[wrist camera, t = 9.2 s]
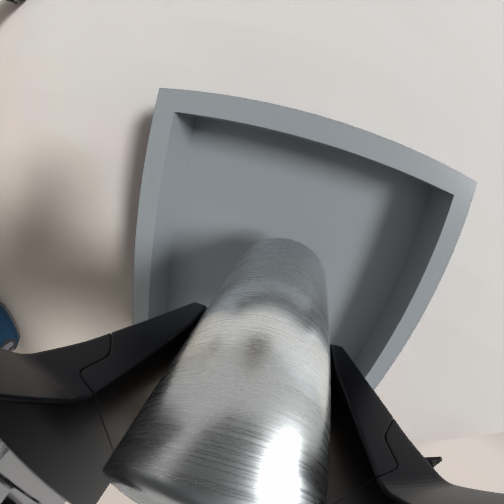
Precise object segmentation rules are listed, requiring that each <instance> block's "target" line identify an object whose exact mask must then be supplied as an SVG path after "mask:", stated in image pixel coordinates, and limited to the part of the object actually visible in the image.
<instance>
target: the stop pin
mask: <svg viewBox="0 0 504 504" xmlns="http://www.w3.org/2000/svg"><path fill="white" fill-rule="evenodd" d="M330 427H331V366H330V336H329V317H328V301H327V287H326V276H325V271H324V268H323V265H322V263H321V261H320V260H319V258H318V257H317V255H316V254H315V253H314V252H313V251H312V250H311V249H310V248H308V247H307V246H305V245H304V244H302V243H300V242H297V241H295V240H292V239H287V238H270V239H266V240H262V241H260V242H258V243H256V244H254V245H253V246H251V247H250V248H249V249H247V251H246V252H245V253H244V254H243V255H242V257H241V258H240V260H239V261H238V263H237V264H236V266H235V267H234V269H233V270H232V272H231V273H230V275H229V276H228V278H227V279H226V281H225V282H224V284H223V285H222V287H221V288H220V290H219V291H218V293H217V294H216V296H215V297H214V299H213V300H212V302H211V303H210V305H209V306H208V308H207V309H206V311H205V312H204V314H203V315H202V317H201V318H200V320H199V321H198V323H197V325H196V326H195V328H194V329H193V331H192V332H191V334H190V335H189V337H188V338H187V340H186V341H185V343H184V344H183V346H182V347H181V349H180V350H179V352H178V353H177V355H176V356H175V358H174V360H173V361H172V363H171V364H170V366H169V367H168V369H167V370H166V372H165V373H164V375H163V376H162V378H161V379H160V381H159V382H158V384H157V385H156V387H155V389H154V390H153V392H152V393H151V395H150V396H149V398H148V399H147V401H146V402H145V404H144V405H143V407H142V409H141V410H140V412H139V413H138V415H137V416H136V418H135V419H134V421H133V422H132V424H131V425H130V427H129V429H128V430H127V432H126V433H125V435H124V436H123V438H122V439H121V441H120V442H119V444H118V446H117V447H116V449H115V450H114V452H113V453H112V455H111V456H110V458H109V460H108V461H107V463H106V464H105V466H104V467H103V473H104V475H105V477H106V478H107V479H108V481H109V482H110V483H111V484H112V485H114V486H115V487H116V488H117V489H118V490H119V491H120V492H122V493H123V494H124V495H126V496H127V497H129V498H130V499H131V500H133V501H135V502H136V503H138V504H326V498H327V486H328V472H329V455H330Z"/></svg>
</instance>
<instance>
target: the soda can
mask: <svg viewBox="0 0 504 504" xmlns="http://www.w3.org/2000/svg"><path fill="white" fill-rule="evenodd" d="M19 338H20V335H19V331H18V328H17V326H16V323H15V321H14V320H13V318H12V316H11V314H10V313H9V311H8V310H7V309H6V308H5V306H4V305H2V304H1V303H0V348H3V349H6V350H8V351H11V352H12V351H13V350H14V349H16V347H17V344H18V341H19Z"/></svg>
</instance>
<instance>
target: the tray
mask: <svg viewBox="0 0 504 504" xmlns="http://www.w3.org/2000/svg"><path fill="white" fill-rule="evenodd" d="M476 184H477V182H476V181H474V180H472V179H471V178H469V177H467V176H465V175H464V174H462V173H460V172H458V171H456V170H454V169H452V168H450V167H448V166H447V165H445V164H443V163H441V162H439V161H437V160H434V159H432V158H430V157H428V156H426V155H424V154H422V153H420V152H417V151H415V150H413V149H411V148H408V147H406V146H404V145H401V144H399V143H396V142H394V141H392V140H389V139H387V138H384V137H381V136H379V135H376V134H373V133H371V132H368V131H365V130H362V129H360V128H357V127H354V126H351V125H348V124H345V123H342V122H339V121H335V120H332V119H329V118H326V117H322V116H319V115H315V114H312V113H308V112H304V111H300V110H296V109H292V108H288V107H284V106H280V105H276V104H271V103H266V102H262V101H257V100H251V99H246V98H240V97H235V96H228V95H222V94H215V93H207V92H199V91H190V90H180V89H168V88H160V89H159V93H158V97H157V101H156V105H155V110H154V114H153V119H152V124H151V129H150V134H149V139H148V144H147V150H146V156H145V162H144V169H143V175H142V182H141V190H140V198H139V207H138V216H137V227H136V239H135V253H134V274H133V325H134V324H137V323H140V322H143V321H145V320H148V319H151V318H153V317H156V316H159V315H161V314H164V313H167V312H169V311H172V310H175V309H177V308H180V307H183V306H185V305H188V304H190V303H193V302H197V303H200V304H203V305H205V306H206V307H207V308H208V306H209V305H210V303H211V302H212V300H213V299H214V297H215V296H216V294H217V293H218V291H219V290H220V288H221V287H222V285H223V284H224V282H225V281H226V279H227V278H228V276H229V275H230V273H231V272H232V270H233V269H234V267H235V266H236V264H237V263H238V261H239V260H240V258H241V257H242V255H243V254H244V253H245V252H246V251H247V249H249V248H250V247H251V246H253V245H254V244H256V243H258V242H260V241H262V240H266V239H270V238H287V239H292V240H295V241H297V242H300V243H302V244H304V245H305V246H307V247H308V248H310V249H311V250H312V251H313V252H314V253H315V254H316V255H317V257H318V258H319V260H320V261H321V263H322V265H323V268H324V271H325V276H326V287H327V301H328V317H329V336H330V344H334V345H338V346H341V347H343V348H344V350H345V351H346V353H347V354H348V355H349V357H350V358H351V359H352V361H353V362H354V364H355V365H356V366H357V368H358V369H359V370H360V372H361V373H362V375H363V376H364V377H365V379H366V380H367V382H368V383H369V384H370V386H371V387H372V389H373V390H374V389H375V388H376V387H377V385H378V384H379V383H380V381H381V380H382V378H383V377H384V376H385V374H386V373H387V371H388V370H389V369H390V367H391V366H392V364H393V363H394V361H395V360H396V358H397V357H398V355H399V354H400V352H401V350H402V349H403V347H404V346H405V344H406V342H407V341H408V339H409V338H410V336H411V334H412V333H413V331H414V329H415V328H416V326H417V324H418V322H419V321H420V319H421V317H422V315H423V313H424V312H425V310H426V308H427V306H428V304H429V302H430V300H431V298H432V296H433V294H434V292H435V290H436V288H437V286H438V284H439V282H440V280H441V278H442V276H443V274H444V272H445V269H446V267H447V265H448V263H449V260H450V258H451V256H452V253H453V251H454V248H455V246H456V243H457V241H458V238H459V236H460V233H461V230H462V228H463V225H464V222H465V219H466V217H467V214H468V211H469V208H470V204H471V201H472V198H473V195H474V191H475V188H476Z"/></svg>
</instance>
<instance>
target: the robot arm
mask: <svg viewBox="0 0 504 504" xmlns="http://www.w3.org/2000/svg"><path fill="white" fill-rule="evenodd" d="M206 309H207V307H206V306H205V305H203V304H200V303H197V302H193V303H190V304H188V305H185V306H183V307H180V308H177V309H175V310H172V311H169V312H167V313H164V314H161V315H159V316H156V317H153V318H151V319H148V320H145V321H143V322H140V323H137V324H134V325H132V326H129V327H126V328H123V329H121V330H118V331H115V332H112V334H110V333H109V334H107V335H104V336H101V337H98V338H95V339H92V340H89V341H85V342H82V343H78V344H74V345H70V346H66V347H61V348H57V349H52V350H48V351H43V352H38V353H33V354H19V353H14V352H11V351H8V350H6V349H3V348H0V504H64V503H65V502H66V501H67V502H68V503H70V504H96V503H97V502H98V500H99V499H100V497H101V496H102V494H103V493H104V491H105V490H106V488H107V486H108V485H109V484H110V482H109V481H108V479H107V478H106V477H105V475H104V473H103V467H104V466H105V464H106V463H107V461H108V460H109V458H110V456H111V455H112V453H113V452H114V450H115V449H116V447H117V446H118V444H119V442H120V441H121V439H122V438H123V436H124V435H125V433H126V432H127V430H128V429H129V427H130V425H131V424H132V422H133V421H134V419H135V418H136V416H137V415H138V413H139V412H140V410H141V409H142V407H143V405H144V404H145V402H146V401H147V399H148V398H149V396H150V395H151V393H152V392H153V390H154V389H155V387H156V385H157V384H158V382H159V381H160V379H161V378H162V376H163V375H164V373H165V372H166V370H167V369H168V367H169V366H170V364H171V363H172V361H173V360H174V358H175V356H176V355H177V353H178V352H179V350H180V349H181V347H182V346H183V344H184V343H185V341H186V340H187V338H188V337H189V335H190V334H191V332H192V331H193V329H194V328H195V326H196V325H197V323H198V321H199V320H200V318H201V317H202V315H203V314H204V312H205V311H206ZM330 366H331V427H330V455H329V472H328V486H327V498H326V504H504V494H502V493H494V492H487V491H481V490H475V489H470V488H464V487H460V486H456V485H453V484H451V483H449V482H447V481H445V480H444V479H443V478H442V477H441V476H440V475H439V474H438V473H437V472H436V471H435V470H434V466H436V465H437V464H438V463H439V462H441V461H442V458H441V457H426V458H424V457H423V456H422V455H421V453H420V452H419V451H418V450H417V449H416V448H415V446H414V445H413V444H412V442H411V441H410V440H409V439H408V437H407V436H406V435H405V433H404V432H403V431H402V429H401V428H400V427H399V425H398V424H397V422H396V421H395V420H394V419H393V417H392V415H391V414H390V413H389V411H388V410H387V408H386V407H385V405H384V404H383V403H382V401H381V400H380V398H379V397H378V396H377V394H376V393H375V391H374V390H373V389H372V387H371V386H370V384H369V383H368V382H367V380H366V379H365V377H364V376H363V375H362V373H361V372H360V370H359V369H358V368H357V366H356V365H355V364H354V362H353V361H352V359H351V358H350V357H349V355H348V354H347V353H346V351H345V350H344V348H343V347H341V346H338V345H334V344H330Z"/></svg>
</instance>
